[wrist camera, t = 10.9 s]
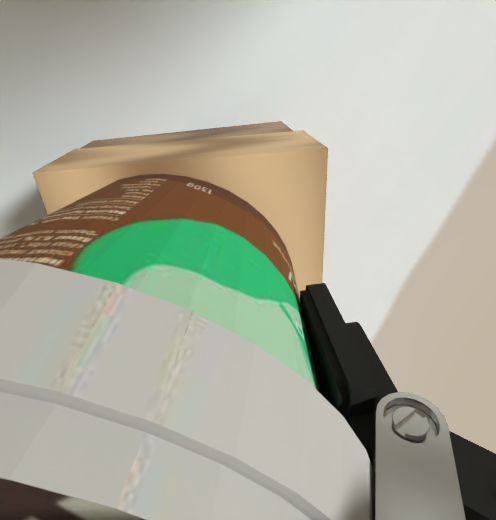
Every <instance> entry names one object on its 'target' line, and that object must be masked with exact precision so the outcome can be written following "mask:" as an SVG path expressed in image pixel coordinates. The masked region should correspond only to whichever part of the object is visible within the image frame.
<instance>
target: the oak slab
mask: <svg viewBox="0 0 496 520" xmlns="http://www.w3.org/2000/svg"><path fill="white" fill-rule="evenodd" d="M327 158H328V148H327V147H326V146H324V145H323V144H321V143H320V142H318V141H317V140H316V139H314V138H313V137H311V136H310V135H309V134H307V133H306V132H304V131H291V132H279V133H266V134H254V135H242V136H229V137H217V138H205V139H192V140H180V141H168V142H155V143H143V144H131V145H118V146H106V147H94V148H81V149H74V150H72V151H71V152H69V153H67V154H65V155H64V156H62V157H60V158H58V159H56V160H55V161H53V162H51V163H49V164H47V165H46V166H44V167H42V168H40V169H38V170H37V171H35V172H33V175H34V178H35V181H36V183H37V186H38V189H39V192H40V194H41V197H42V200H43V203H44V205H45V208H46V211H47V214H48V215H49V214H51V213H53V212H55V211H57V210H59V209H61V208H63V207H65V206H67V205H69V204H71V203H73V202H75V201H77V200H79V199H81V198H83V197H85V196H87V195H89V194H91V193H93V192H95V191H97V190H99V189H101V188H103V187H105V186H107V185H109V184H111V183H113V182H115V181H117V180H119V179H123V178H128V177H133V176H138V175H146V174H171V175H180V176H187V177H191V178H195V179H199V180H203V181H207V182H210V183H212V184H214V185H217V186H219V187H221V188H224V189H226V190H229V191H230V192H232V193H234V194H235V195H237V196H238V197H240V198H242V199H243V200H245V201H247V202H248V203H249V204H250V205H252V206H253V207H254V208H255V209H256V210H258V211H259V212H260V213H261V214H262V215H264V217H265V218H266V219H267V220H268V221H269V222H270V224H271V225H272V226H273V227H274V228H275V229H276V231H277V232H278V234H279V236H280V237H281V239H282V241H283V242H284V244H285V246H286V248H287V251H288V254H289V256H290V259H291V262H292V266H293V270H294V275H295V279H296V284H297V288H298V293H299V297H300V291H302V290H306V285H312V284H320V283H322V272H323V249H324V227H325V204H326V181H327Z"/></svg>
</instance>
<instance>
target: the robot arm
mask: <svg viewBox="0 0 496 520" xmlns="http://www.w3.org/2000/svg"><path fill="white" fill-rule="evenodd" d="M300 306H301V310H302V314H303V318H304V322H305V325H306V329H307V333H308V338H309V342H310V347H311V351H312V356H313V360H314V365H315V369H316V374H317V378H318V383H319V387H320V392H321V395H322V396H323V397H324V398H325V399H326V400H327V401H328V402H329V403H330V404H331V405H332V406H333V407H334V408H335V409H336V410H337V411H338V412H339V413H340V414H341V415H342V416H343V417H344V418H345V420H346V421H347V423H348V424H349V426H350V427H351V429H352V430H353V431H354V433H355V434H356V436H357V437H358V439H359V440H360V442H361V443H362V445H363V446H364V448H365V449H366V451H367V454H368V457H369V459H370V462H371V465H372V468H373V470H374V520H496V454H495V453H493V452H491V451H489V450H486V449H485V448H483V447H481V446H479V445H477V444H474V443H473V442H470V441H468V440H466V439H464V438H462V437H460V436H458V435H456V434H454V433H452V432H450V431H449V428H448V425H447V422H446V419H445V417H444V415H443V414H442V413H441V412H440V410H439V409H438V408H437V407H436V406H435V405H433V404H432V403H431V402H430V401H428V400H427V399H425V398H423V397H421V396H419V395H415V394H411V393H406V392H398V391H397V389H396V387H395V386H394V384H393V382H392V380H391V379H390V377H389V375H388V374H387V371H386V370H385V368H384V366H383V364H382V363H381V361H380V359H379V357H378V355H377V354H376V352H375V350H374V348H373V347H372V345H371V343H370V341H369V339H368V338H367V336H366V334H365V332H364V331H363V329H362V327H361V326H360V324H359V323H358V322H352V323H345V322H344V320H343V318H342V316H341V314H340V312H339V310H338V308H337V306H336V304H335V302H334V300H333V298H332V296H331V294H330V292H329V290H328V288H327V286H326V285H325V283H320V284H312V285H306V290H302V291H300Z"/></svg>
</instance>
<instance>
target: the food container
mask: <svg viewBox="0 0 496 520" xmlns="http://www.w3.org/2000/svg"><path fill="white" fill-rule="evenodd" d="M0 520H374V470H373V468H372V465H371V462H370V459H369V457H368V454H367V451H366V449H365V448H364V446H363V445H362V443H361V442H360V440H359V439H358V437H357V436H356V434H355V433H354V431H353V430H352V429H351V427H350V426H349V424H348V423H347V421H346V420H345V418H344V417H343V416H342V415H341V414H340V413H339V412H338V411H337V410H336V409H335V408H334V407H333V406H332V405H331V404H330V403H329V402H328V401H327V400H326V399H325V398H324V397H323V396H322V395H321V392H320V387H319V383H318V378H317V374H316V369H315V365H314V360H313V356H312V351H311V347H310V342H309V338H308V333H307V329H306V325H305V322H304V318H303V314H302V310H301V306H300V297H299V293H298V288H297V284H296V279H295V275H294V270H293V266H292V262H291V259H290V256H289V254H288V251H287V248H286V246H285V244H284V242H283V241H282V239H281V237H280V236H279V234H278V232H277V231H276V229H275V228H274V227H273V226H272V225H271V224H270V222H269V221H268V220H267V219H266V218H265V217H264V215H262V214H261V213H260V212H259V211H258V210H256V209H255V208H254V207H253V206H252V205H250V204H249V203H248V202H247V201H245V200H243V199H242V198H240V197H238V196H237V195H235V194H234V193H232V192H230V191H229V190H226V189H224V188H221V187H219V186H217V185H214V184H212V183H210V182H207V181H203V180H199V179H195V178H191V177H187V176H180V175H171V174H146V175H138V176H133V177H128V178H123V179H119V180H117V181H115V182H113V183H111V184H109V185H107V186H105V187H103V188H101V189H99V190H97V191H95V192H93V193H91V194H89V195H87V196H85V197H83V198H81V199H79V200H77V201H75V202H73V203H71V204H69V205H67V206H65V207H63V208H61V209H59V210H57V211H55V212H53V213H51V214H49V215H47V216H45V217H43V218H41V219H39V220H37V221H35V222H33V223H31V224H29V225H27V226H25V227H23V228H21V229H19V230H17V231H15V232H13V233H11V234H9V235H7V236H5V237H3V238H1V239H0Z"/></svg>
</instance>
